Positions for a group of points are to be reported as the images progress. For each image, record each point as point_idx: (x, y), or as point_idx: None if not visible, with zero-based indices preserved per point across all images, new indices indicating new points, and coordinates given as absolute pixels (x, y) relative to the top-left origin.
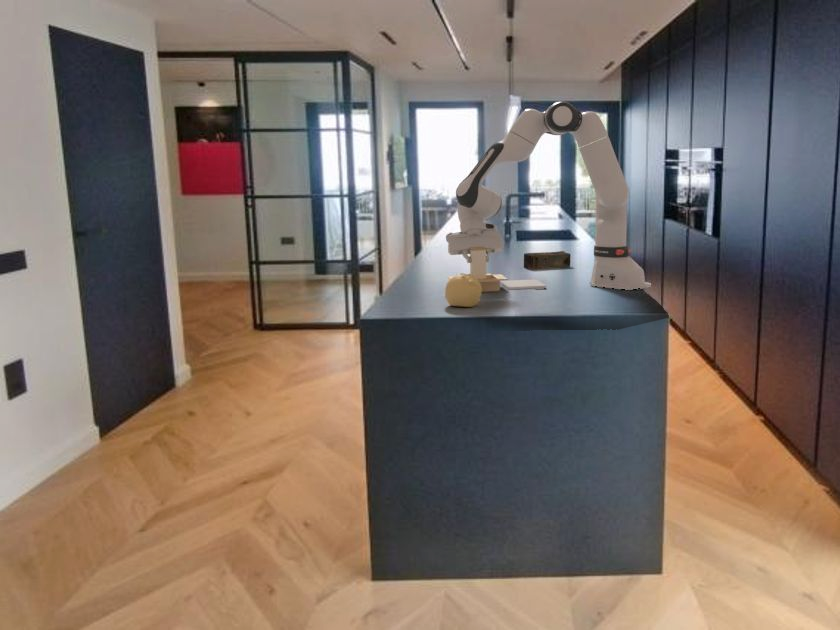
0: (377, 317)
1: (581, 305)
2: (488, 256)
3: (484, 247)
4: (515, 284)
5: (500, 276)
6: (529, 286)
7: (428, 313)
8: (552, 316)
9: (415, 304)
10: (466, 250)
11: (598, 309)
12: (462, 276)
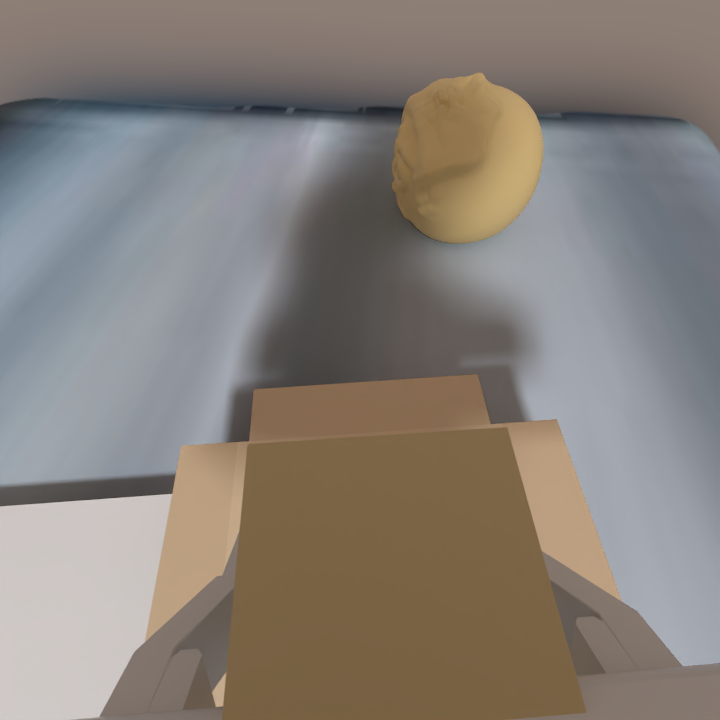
0: (679, 132)
1: (88, 188)
2: (232, 558)
3: (257, 519)
4: (104, 597)
5: (187, 582)
6: (60, 503)
7: (548, 153)
8: (232, 111)
9: (632, 251)
10: (615, 670)
11: (81, 150)
12: (483, 77)
